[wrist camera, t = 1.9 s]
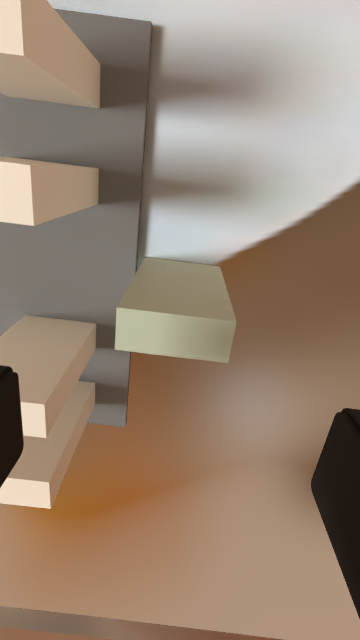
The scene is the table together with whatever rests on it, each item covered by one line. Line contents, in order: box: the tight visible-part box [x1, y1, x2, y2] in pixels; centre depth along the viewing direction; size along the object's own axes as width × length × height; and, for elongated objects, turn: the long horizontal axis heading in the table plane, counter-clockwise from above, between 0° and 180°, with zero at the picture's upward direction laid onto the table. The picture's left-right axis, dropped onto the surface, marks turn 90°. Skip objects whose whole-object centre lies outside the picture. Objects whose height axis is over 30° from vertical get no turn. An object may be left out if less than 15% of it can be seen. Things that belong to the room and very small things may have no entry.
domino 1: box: [0, 0, 100, 108], centre depth 14 cm, size 2×5×9 cm, turn 83°
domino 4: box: [0, 381, 95, 509], centre depth 22 cm, size 2×5×9 cm, turn 83°
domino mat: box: [0, 9, 152, 427], centre depth 22 cm, size 26×10×1 cm, turn 173°
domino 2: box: [0, 156, 99, 226], centre depth 16 cm, size 2×5×9 cm, turn 83°
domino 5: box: [115, 257, 236, 363], centre depth 18 cm, size 2×5×9 cm, turn 84°
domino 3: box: [0, 315, 96, 438], centre depth 20 cm, size 2×5×9 cm, turn 83°
